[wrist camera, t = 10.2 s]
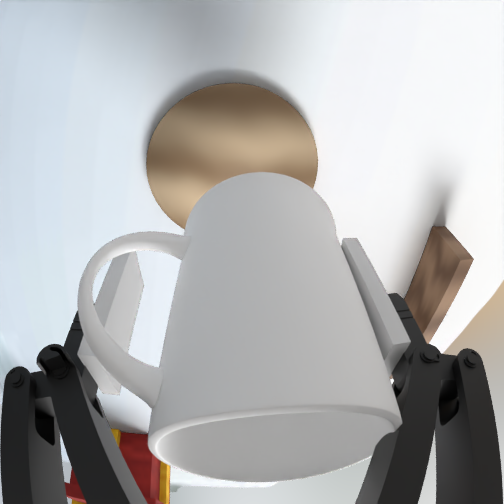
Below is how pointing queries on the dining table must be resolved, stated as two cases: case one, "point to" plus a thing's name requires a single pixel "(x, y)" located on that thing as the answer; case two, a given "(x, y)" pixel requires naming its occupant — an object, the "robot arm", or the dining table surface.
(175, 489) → the dining table surface
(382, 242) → the dining table surface
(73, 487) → the gift box
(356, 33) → the dining table surface
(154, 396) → the mug
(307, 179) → the coaster
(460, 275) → the cradle
